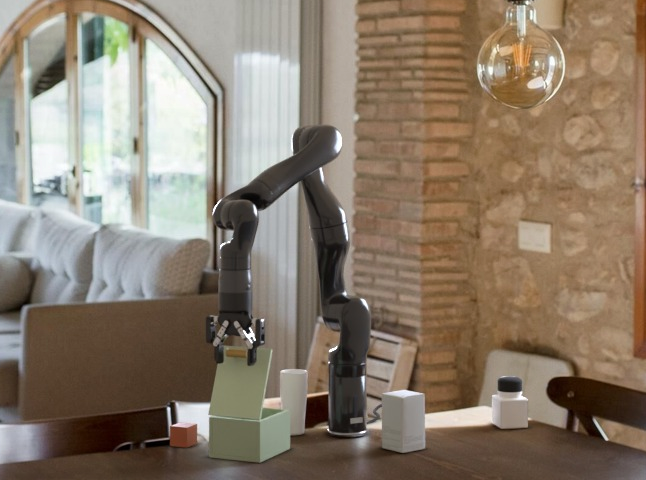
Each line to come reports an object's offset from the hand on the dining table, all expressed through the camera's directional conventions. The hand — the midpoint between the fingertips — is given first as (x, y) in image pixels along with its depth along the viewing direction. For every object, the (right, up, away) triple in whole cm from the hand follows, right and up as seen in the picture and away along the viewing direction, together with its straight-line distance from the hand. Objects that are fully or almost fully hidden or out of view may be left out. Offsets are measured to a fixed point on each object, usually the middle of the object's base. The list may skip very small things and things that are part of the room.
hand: (235, 364), depth 284 cm
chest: (+3, -21, +6) cm, 22 cm away
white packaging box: (+38, -21, +10) cm, 44 cm away
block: (-13, -21, +14) cm, 29 cm away
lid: (+1, -5, +2) cm, 5 cm away
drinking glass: (+12, -22, +26) cm, 36 cm away
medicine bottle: (+65, -22, +35) cm, 77 cm away
